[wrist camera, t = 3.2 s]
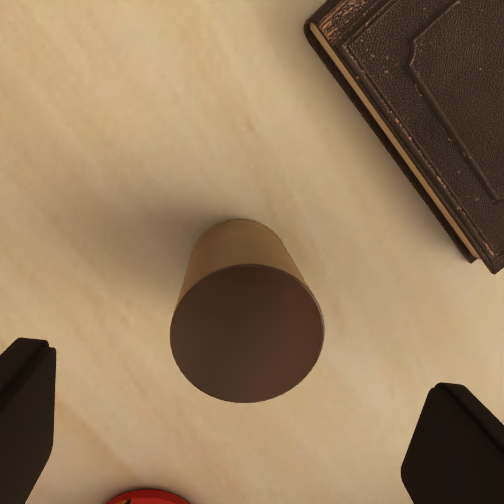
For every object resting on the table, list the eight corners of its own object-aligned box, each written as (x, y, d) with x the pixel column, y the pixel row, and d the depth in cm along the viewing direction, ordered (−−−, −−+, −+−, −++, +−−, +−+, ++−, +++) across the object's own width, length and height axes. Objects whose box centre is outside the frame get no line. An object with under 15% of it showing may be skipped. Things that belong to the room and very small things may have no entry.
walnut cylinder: (297, 227, 20) (341, 276, 13) (277, 317, 22) (306, 410, 14) (196, 211, 20) (179, 252, 12) (183, 305, 21) (160, 395, 14)
